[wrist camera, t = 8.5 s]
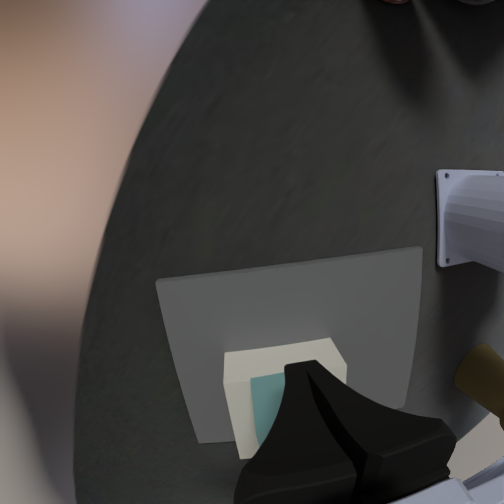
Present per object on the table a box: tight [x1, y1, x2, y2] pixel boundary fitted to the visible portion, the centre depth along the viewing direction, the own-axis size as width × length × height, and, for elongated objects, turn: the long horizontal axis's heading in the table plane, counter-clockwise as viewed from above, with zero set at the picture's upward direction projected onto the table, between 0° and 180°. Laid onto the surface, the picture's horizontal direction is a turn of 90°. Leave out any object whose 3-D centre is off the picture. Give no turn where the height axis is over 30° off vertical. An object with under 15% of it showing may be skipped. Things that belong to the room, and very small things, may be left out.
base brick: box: [223, 338, 347, 459], centre depth 21 cm, size 8×8×4 cm
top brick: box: [250, 372, 285, 447], centre depth 17 cm, size 4×8×5 cm, turn 10°
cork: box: [454, 343, 504, 430], centre depth 20 cm, size 6×6×11 cm
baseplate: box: [155, 246, 423, 443], centre depth 23 cm, size 20×16×1 cm
